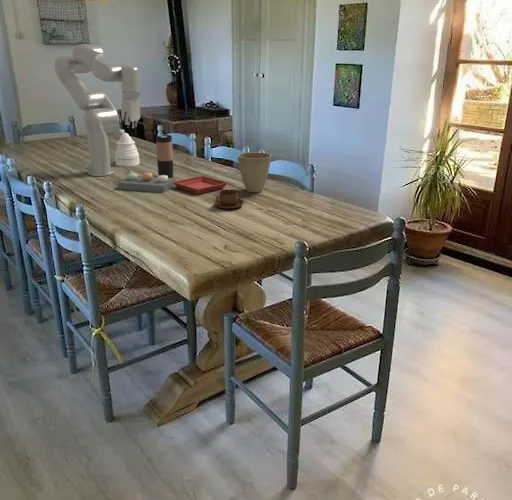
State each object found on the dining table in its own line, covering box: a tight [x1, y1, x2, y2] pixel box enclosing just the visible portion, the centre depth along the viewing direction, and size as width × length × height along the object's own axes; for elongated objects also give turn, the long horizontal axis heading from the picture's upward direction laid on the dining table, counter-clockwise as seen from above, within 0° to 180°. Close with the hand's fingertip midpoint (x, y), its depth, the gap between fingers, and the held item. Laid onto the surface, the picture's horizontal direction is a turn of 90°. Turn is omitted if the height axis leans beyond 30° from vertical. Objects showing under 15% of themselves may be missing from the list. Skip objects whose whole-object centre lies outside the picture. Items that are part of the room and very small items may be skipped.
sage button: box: [126, 172, 138, 180], centre depth 238 cm, size 5×5×2 cm
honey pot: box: [114, 129, 141, 167], centre depth 281 cm, size 13×13×18 cm
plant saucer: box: [173, 175, 228, 195], centre depth 237 cm, size 18×18×3 cm
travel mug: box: [155, 134, 174, 178], centre depth 253 cm, size 8×8×20 cm
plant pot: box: [237, 151, 272, 193], centre depth 231 cm, size 15×15×16 cm
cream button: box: [157, 175, 168, 182], centre depth 235 cm, size 5×5×2 cm
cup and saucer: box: [213, 189, 244, 210], centre depth 210 cm, size 12×12×6 cm
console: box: [118, 175, 177, 193], centre depth 238 cm, size 22×14×3 cm, turn 77°
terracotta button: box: [141, 172, 154, 180], centre depth 236 cm, size 5×5×2 cm
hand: (132, 136), depth 240 cm, fingers closed
